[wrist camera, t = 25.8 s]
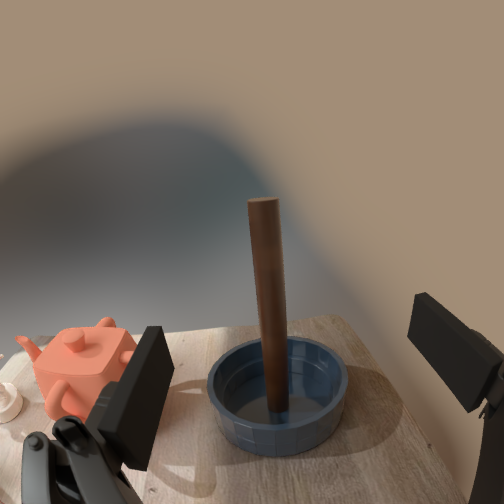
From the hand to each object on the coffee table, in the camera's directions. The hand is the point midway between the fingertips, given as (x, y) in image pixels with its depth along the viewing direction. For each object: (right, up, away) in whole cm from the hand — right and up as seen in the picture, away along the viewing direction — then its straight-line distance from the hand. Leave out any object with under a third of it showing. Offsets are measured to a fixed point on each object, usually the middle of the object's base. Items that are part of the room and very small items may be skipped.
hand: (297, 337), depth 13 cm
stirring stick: (+1, -14, +17) cm, 22 cm away
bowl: (+1, -15, +17) cm, 22 cm away
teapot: (-22, -18, +16) cm, 32 cm away
